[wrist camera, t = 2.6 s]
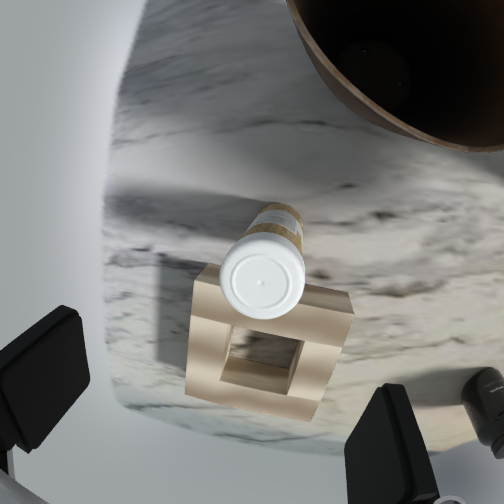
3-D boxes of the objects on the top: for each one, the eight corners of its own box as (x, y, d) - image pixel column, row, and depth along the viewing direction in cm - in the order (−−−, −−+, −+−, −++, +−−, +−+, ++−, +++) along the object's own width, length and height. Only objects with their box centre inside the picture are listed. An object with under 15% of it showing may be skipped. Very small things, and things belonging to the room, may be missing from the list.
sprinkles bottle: (292, 257, 29) (284, 334, 17) (246, 239, 30) (206, 303, 17) (311, 212, 28) (319, 261, 15) (263, 194, 28) (233, 226, 15)
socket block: (208, 263, 31) (194, 280, 27) (347, 292, 30) (354, 314, 25) (196, 370, 35) (184, 394, 31) (310, 395, 34) (310, 422, 30)
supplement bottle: (494, 357, 29) (534, 416, 18) (503, 383, 30) (536, 438, 19) (453, 388, 31) (484, 454, 20) (465, 411, 32) (492, 470, 21)
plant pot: (316, -12, 21) (320, -122, 6) (456, 46, 20) (549, -9, 5) (272, 119, 26) (236, 73, 11) (423, 177, 25) (532, 206, 10)
